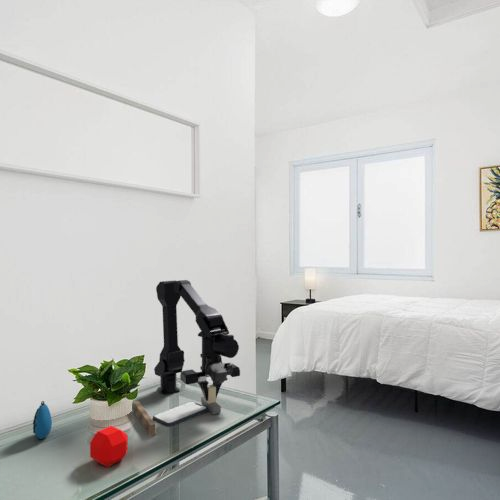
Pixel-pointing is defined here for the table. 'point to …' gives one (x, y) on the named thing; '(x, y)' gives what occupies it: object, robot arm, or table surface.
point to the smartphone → (180, 413)
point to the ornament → (42, 421)
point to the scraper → (211, 400)
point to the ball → (109, 446)
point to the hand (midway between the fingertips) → (210, 399)
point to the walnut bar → (144, 418)
